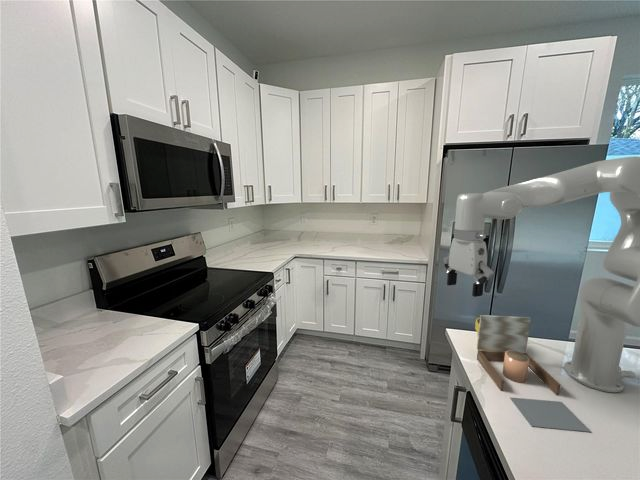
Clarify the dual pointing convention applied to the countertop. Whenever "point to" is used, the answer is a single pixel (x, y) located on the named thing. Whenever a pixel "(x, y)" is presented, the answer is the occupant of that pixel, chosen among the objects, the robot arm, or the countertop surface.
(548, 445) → the countertop surface
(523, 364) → the flowerpot
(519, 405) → the potting mat
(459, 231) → the robot arm
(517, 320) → the wooden bench
